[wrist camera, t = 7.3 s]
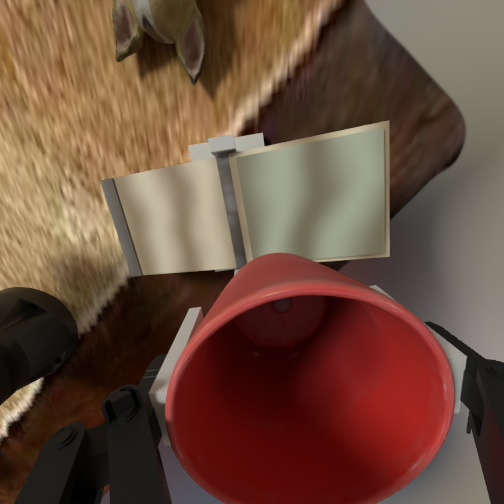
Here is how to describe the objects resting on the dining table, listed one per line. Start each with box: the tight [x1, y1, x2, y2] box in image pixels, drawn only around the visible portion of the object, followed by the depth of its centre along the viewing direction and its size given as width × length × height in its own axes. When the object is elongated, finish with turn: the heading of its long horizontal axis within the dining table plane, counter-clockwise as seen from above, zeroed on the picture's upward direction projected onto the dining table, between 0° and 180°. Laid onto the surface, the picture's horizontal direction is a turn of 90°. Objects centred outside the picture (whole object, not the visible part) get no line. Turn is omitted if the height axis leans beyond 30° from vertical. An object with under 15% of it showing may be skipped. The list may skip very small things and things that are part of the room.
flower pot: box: [165, 253, 455, 504], centre depth 13 cm, size 11×11×10 cm
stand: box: [188, 133, 265, 276], centre depth 29 cm, size 20×18×11 cm
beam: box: [101, 121, 390, 276], centre depth 26 cm, size 30×12×3 cm, turn 99°
